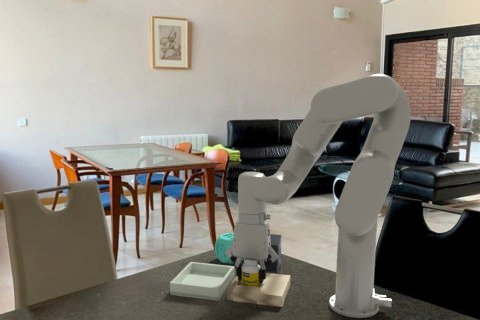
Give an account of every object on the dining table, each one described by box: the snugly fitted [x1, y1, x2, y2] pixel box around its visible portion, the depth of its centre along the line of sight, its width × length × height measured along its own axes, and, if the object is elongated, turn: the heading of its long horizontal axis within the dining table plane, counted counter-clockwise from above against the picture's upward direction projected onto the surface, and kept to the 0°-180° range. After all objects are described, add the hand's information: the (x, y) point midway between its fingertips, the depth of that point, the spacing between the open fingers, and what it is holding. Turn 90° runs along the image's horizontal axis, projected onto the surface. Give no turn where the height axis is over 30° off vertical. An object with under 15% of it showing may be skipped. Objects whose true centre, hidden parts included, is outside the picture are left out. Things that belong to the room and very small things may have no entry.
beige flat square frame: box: [226, 273, 291, 308], centre depth 132 cm, size 15×14×3 cm
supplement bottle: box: [241, 258, 261, 287], centre depth 132 cm, size 5×5×10 cm
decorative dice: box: [214, 232, 244, 265], centre depth 156 cm, size 8×8×8 cm
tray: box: [169, 261, 236, 302], centre depth 136 cm, size 14×16×4 cm
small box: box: [258, 233, 282, 274], centre depth 146 cm, size 11×6×10 cm, turn 168°
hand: (251, 279), depth 132 cm, fingers closed on supplement bottle, 5 cm apart
